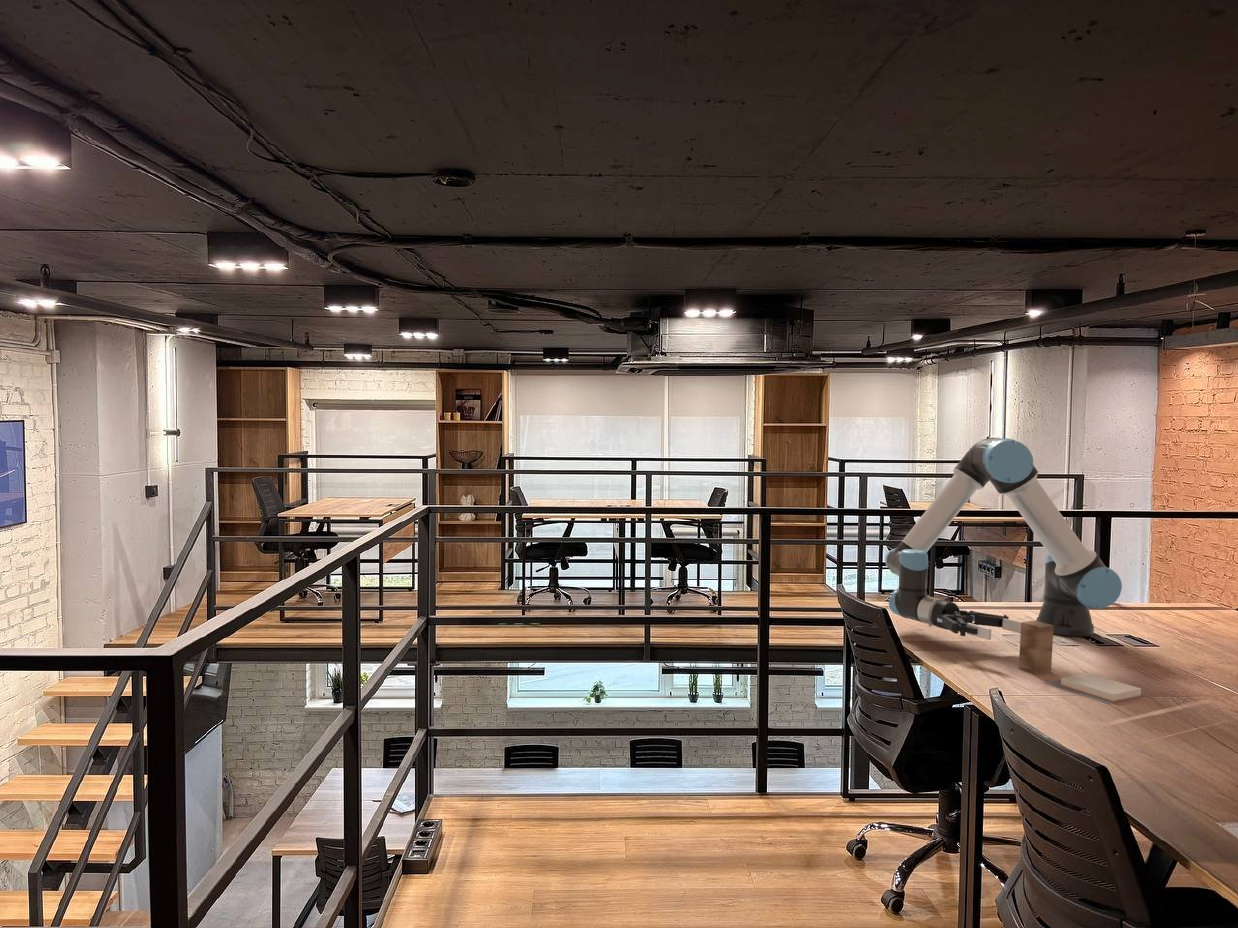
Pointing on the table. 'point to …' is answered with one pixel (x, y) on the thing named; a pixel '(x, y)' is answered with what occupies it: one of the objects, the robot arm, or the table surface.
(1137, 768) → the table surface
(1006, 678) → the table surface
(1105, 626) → the table surface
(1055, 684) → the slate mat
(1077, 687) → the tile
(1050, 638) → the walnut block
